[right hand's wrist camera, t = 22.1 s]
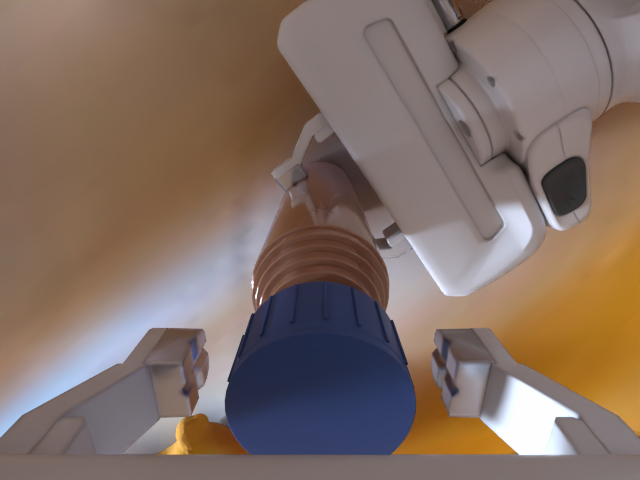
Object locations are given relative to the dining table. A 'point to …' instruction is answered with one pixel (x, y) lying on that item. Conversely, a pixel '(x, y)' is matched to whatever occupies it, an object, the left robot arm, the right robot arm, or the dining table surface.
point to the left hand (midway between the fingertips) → (309, 222)
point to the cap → (320, 376)
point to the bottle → (320, 239)
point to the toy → (203, 438)
